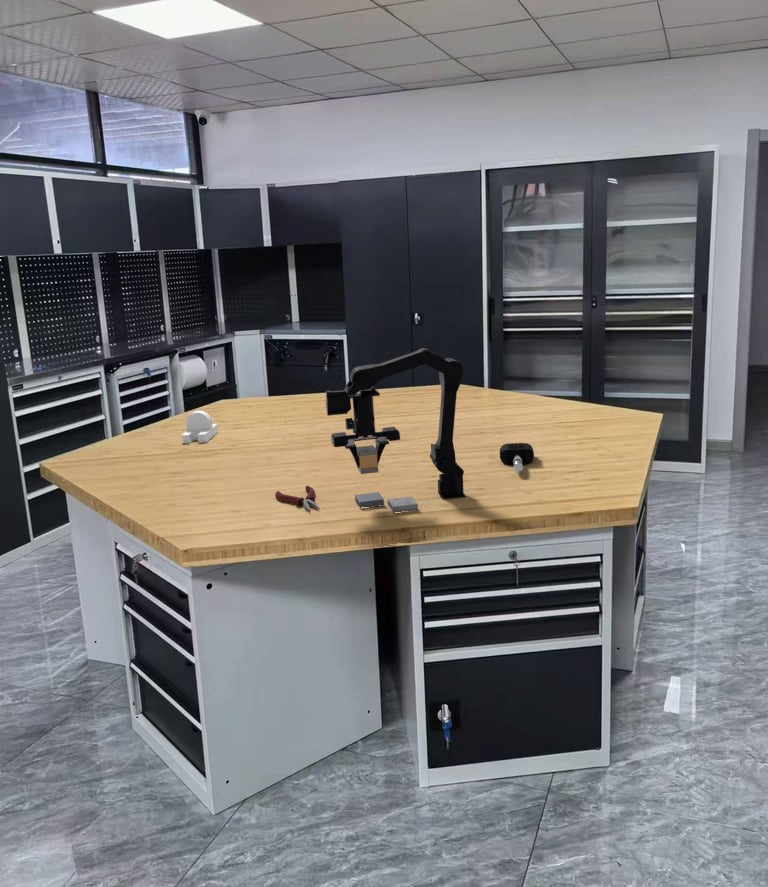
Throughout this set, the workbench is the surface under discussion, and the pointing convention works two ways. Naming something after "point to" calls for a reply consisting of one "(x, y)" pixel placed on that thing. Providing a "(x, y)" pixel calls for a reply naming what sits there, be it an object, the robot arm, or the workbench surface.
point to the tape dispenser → (199, 428)
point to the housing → (367, 459)
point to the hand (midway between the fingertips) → (367, 466)
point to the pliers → (299, 499)
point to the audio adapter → (516, 455)
